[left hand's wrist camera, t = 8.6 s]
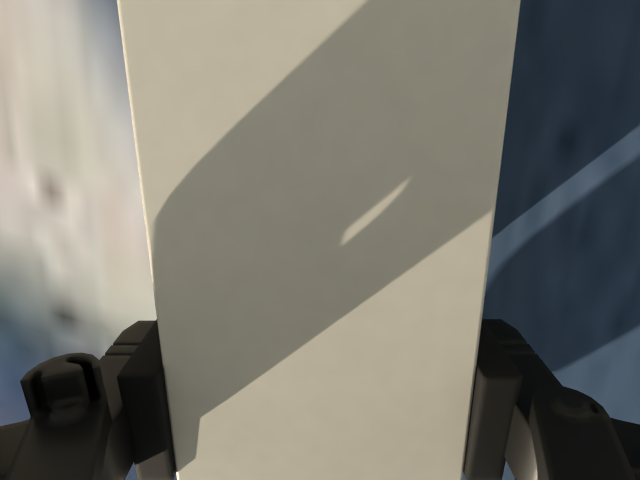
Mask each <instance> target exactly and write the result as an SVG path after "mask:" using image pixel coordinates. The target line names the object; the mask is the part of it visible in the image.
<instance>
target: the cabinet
mask: <svg viewBox="0 0 640 480" xmlns="http://www.w3.org/2000/svg"><path fill="white" fill-rule="evenodd" d="M520 1H521V0H117V3H118V11H119V19H120V27H121V35H122V43H123V51H124V59H125V67H126V75H127V83H128V91H129V99H130V107H131V115H132V123H133V131H134V139H135V147H136V155H137V163H138V171H139V178H140V186H141V194H142V202H143V210H144V218H145V226H146V234H147V242H148V250H149V258H150V266H151V274H152V282H153V290H154V298H155V306H156V314H157V322H158V330H159V338H160V346H161V353H162V361H163V369H164V377H165V385H166V393H167V401H168V409H169V417H170V425H171V433H172V441H173V449H174V457H175V465H176V473H177V480H462V478H463V470H464V462H465V453H466V445H467V437H468V429H469V421H470V412H471V404H472V396H473V388H474V379H475V371H476V363H477V355H478V347H479V338H480V330H481V322H482V314H483V305H484V297H485V289H486V281H487V273H488V264H489V256H490V248H491V240H492V231H493V223H494V215H495V207H496V199H497V190H498V182H499V174H500V166H501V157H502V149H503V141H504V133H505V124H506V116H507V108H508V100H509V92H510V83H511V75H512V67H513V59H514V50H515V42H516V34H517V26H518V18H519V9H520Z"/></svg>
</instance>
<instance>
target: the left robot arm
mask: <svg viewBox="0 0 640 480" xmlns="http://www.w3.org/2000/svg"><path fill="white" fill-rule="evenodd" d="M20 383H21V386H22V389H23V392H24V396H25V399H26V402H27V405H28V409H29V412H30V415H31V418H30V419H29V420H26V421H23V422H18V423H14V424H9V425H5V426H0V480H125V478H126V476H127V474H128V472H129V470H130V468H131V466H132V464H133V462H134V463H135V468H136V473H137V478H138V480H173V479H174V476H175V473H176V465H175V457H174V449H173V441H172V433H171V425H170V417H169V409H168V401H167V393H166V385H165V377H164V369H163V361H162V353H161V346H160V338H159V330H158V322H157V320H156V321H138V322H136V323H135V324H133V325H132V326H130V327H128V328H127V329H125V330H124V331H123V332H122V333H121V334H120V335H119V337H118V338H117V339H116V340H115V342H114V343H113V345H111V347H110V348H109V349H108V350H107V352H106V353H105V356H103V357H102V358H101V359H100V360H98V359H97V358H96V357H95V356H93V355H91V354H86V353H72V354H66V355H62V356H58V357H54V358H52V359H50V360H47V361H45V362H43V363H41V364H39V365H37V366H36V367H34V368H33V369H31V370H30V371H29V372H27V373H26V375H25V376H24V377H23V378H22V379H21V381H20ZM505 461H507V463H508V465H509V467H510V469H511V471H512V473H513V475H514V477H515V480H640V425H639V424H634V423H630V422H625V421H621V420H617V419H613V418H610V417H609V415H608V414H607V412H606V411H605V409H604V408H603V407H602V406H601V405H600V404H599V403H597V402H596V401H595V400H594V399H592V398H591V397H589V396H587V395H585V394H583V393H581V392H579V391H577V390H574V389H570V388H567V387H564V386H562V385H561V384H560V382H559V381H558V380H557V379H556V377H555V376H554V375H553V374H552V372H551V371H550V370H549V369H548V367H547V366H546V365H545V364H544V363H543V361H542V360H541V359H540V358H539V356H538V355H537V354H535V351H534V350H533V349H532V348H531V346H530V345H529V344H527V342H526V340H525V339H524V338H523V337H522V335H521V334H520V333H519V332H518V330H517V329H515V328H514V327H512V326H510V325H509V324H507V323H506V322H504V321H503V320H501V319H482V322H481V330H480V338H479V347H478V355H477V363H476V371H475V379H474V388H473V396H472V404H471V412H470V421H469V429H468V437H467V445H466V453H465V462H464V470H463V472H464V474H465V477H466V480H502V476H503V471H504V466H505Z"/></svg>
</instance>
